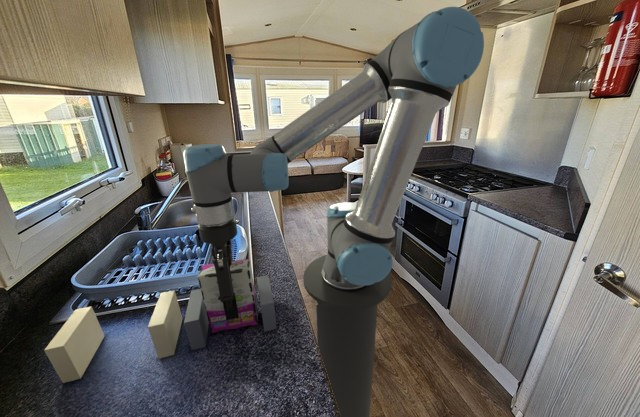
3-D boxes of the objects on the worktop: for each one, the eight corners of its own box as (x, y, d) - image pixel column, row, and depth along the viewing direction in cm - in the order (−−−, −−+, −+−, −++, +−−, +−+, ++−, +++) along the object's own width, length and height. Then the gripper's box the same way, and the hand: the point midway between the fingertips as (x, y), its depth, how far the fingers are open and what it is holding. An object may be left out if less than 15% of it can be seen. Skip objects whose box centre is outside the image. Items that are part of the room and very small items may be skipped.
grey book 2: (270, 299, 73) (268, 275, 70) (276, 328, 63) (273, 302, 60) (260, 301, 72) (256, 277, 69) (264, 332, 62) (260, 305, 59)
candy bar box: (258, 310, 69) (251, 257, 63) (258, 325, 64) (250, 269, 58) (213, 318, 67) (201, 263, 61) (210, 333, 62) (196, 276, 56)
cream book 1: (104, 335, 62) (91, 306, 59) (80, 378, 52) (63, 345, 49) (89, 339, 61) (75, 309, 58) (62, 383, 52) (43, 350, 48)
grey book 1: (209, 312, 69) (204, 287, 66) (205, 346, 59) (198, 319, 56) (197, 315, 68) (191, 290, 65) (191, 350, 58) (183, 323, 55)
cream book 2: (182, 318, 67) (174, 290, 63) (174, 354, 57) (163, 323, 54) (169, 321, 66) (160, 292, 63) (158, 358, 56) (147, 327, 53)
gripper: (202, 205, 63) (218, 283, 72) (190, 246, 45) (213, 343, 53) (234, 202, 65) (246, 277, 74) (235, 239, 47) (251, 334, 55)
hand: (232, 305), depth 63 cm, fingers open, 8 cm apart
